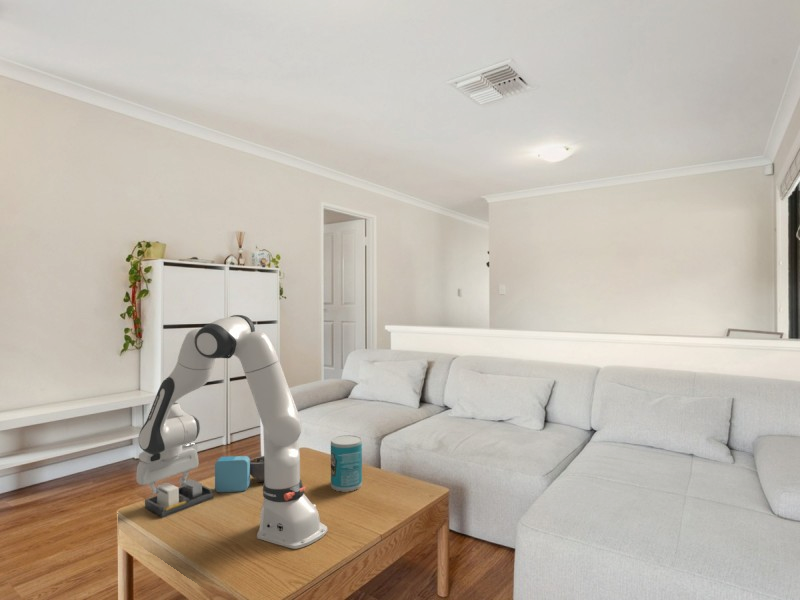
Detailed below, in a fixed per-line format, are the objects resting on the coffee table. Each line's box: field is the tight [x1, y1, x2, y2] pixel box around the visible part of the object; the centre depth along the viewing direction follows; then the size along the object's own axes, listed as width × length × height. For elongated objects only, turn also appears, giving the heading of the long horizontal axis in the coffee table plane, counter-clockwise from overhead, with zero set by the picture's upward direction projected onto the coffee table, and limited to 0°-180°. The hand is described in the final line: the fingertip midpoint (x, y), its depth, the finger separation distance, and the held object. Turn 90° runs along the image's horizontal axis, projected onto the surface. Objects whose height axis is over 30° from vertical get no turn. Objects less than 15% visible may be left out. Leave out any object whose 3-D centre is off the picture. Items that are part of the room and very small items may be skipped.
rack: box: [144, 478, 214, 519], centre depth 163 cm, size 12×18×6 cm, turn 143°
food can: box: [330, 434, 363, 493], centre depth 177 cm, size 12×12×18 cm
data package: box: [214, 455, 251, 493], centre depth 174 cm, size 12×4×12 cm, turn 96°
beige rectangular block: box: [156, 482, 180, 508], centre depth 159 cm, size 8×4×6 cm, turn 54°
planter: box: [250, 455, 265, 483], centre depth 184 cm, size 15×17×20 cm
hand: (169, 488), depth 160 cm, fingers open, 8 cm apart
